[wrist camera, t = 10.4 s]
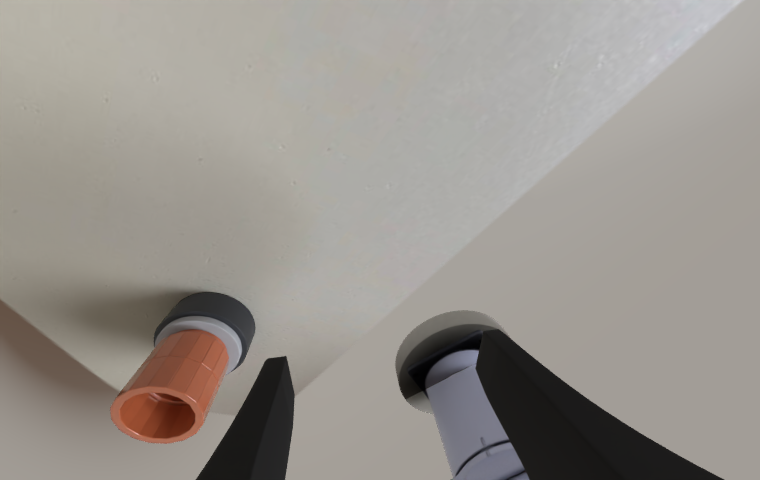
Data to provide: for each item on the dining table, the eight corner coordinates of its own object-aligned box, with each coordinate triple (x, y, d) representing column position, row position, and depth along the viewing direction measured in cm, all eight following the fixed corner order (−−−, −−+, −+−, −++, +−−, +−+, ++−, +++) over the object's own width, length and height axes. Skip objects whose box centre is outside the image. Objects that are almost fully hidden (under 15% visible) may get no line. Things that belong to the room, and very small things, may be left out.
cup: (245, 356, 18) (221, 420, 15) (196, 384, 19) (159, 454, 15) (198, 314, 17) (156, 373, 13) (144, 346, 17) (89, 413, 14)
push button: (271, 331, 21) (263, 358, 19) (211, 366, 22) (196, 396, 19) (216, 278, 19) (199, 301, 17) (151, 318, 19) (126, 345, 17)
